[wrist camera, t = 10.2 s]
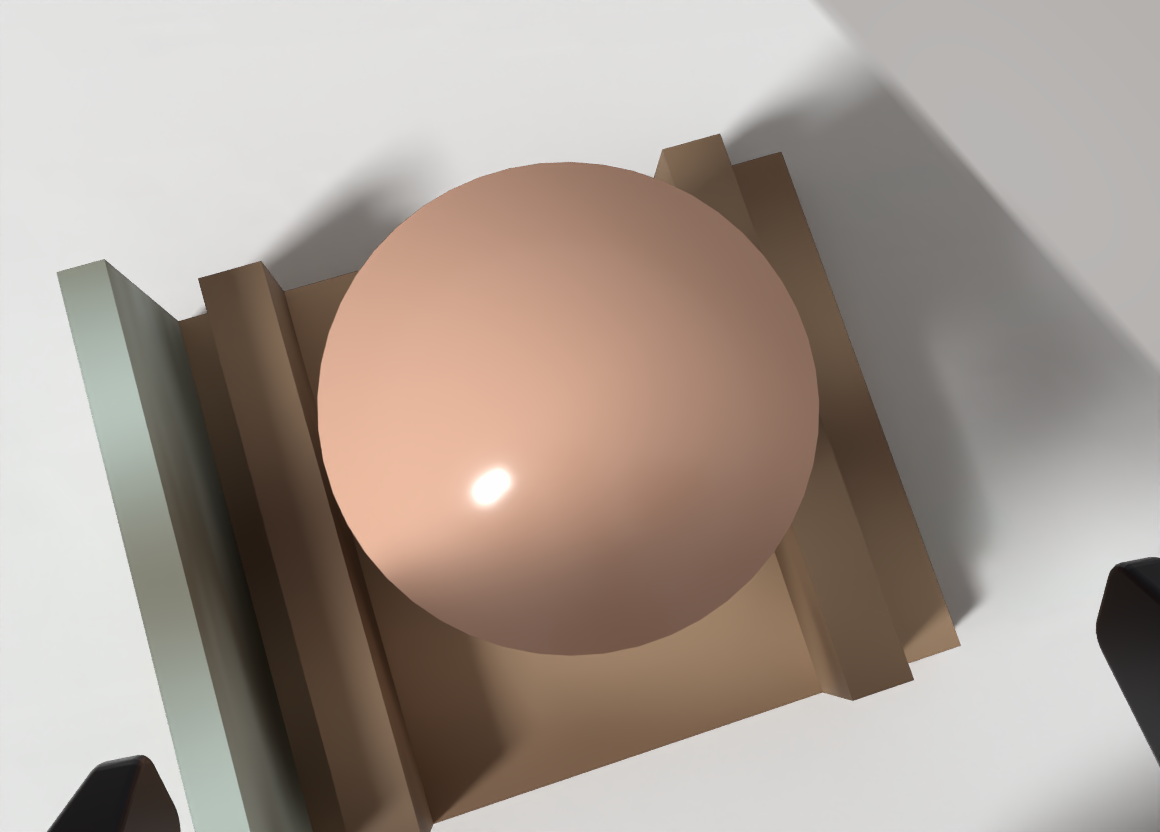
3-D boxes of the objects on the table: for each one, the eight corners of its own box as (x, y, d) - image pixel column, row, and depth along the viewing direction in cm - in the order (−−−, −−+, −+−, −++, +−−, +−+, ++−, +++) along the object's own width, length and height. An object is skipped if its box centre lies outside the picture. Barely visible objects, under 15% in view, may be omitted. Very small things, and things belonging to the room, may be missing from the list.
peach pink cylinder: (705, 613, 22) (858, 618, 12) (425, 652, 21) (342, 689, 11) (664, 343, 23) (776, 139, 13) (395, 374, 22) (295, 187, 12)
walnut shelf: (938, 643, 23) (1057, 653, 18) (292, 861, 22) (221, 940, 16) (768, 173, 25) (833, 59, 20) (158, 346, 23) (56, 272, 18)
